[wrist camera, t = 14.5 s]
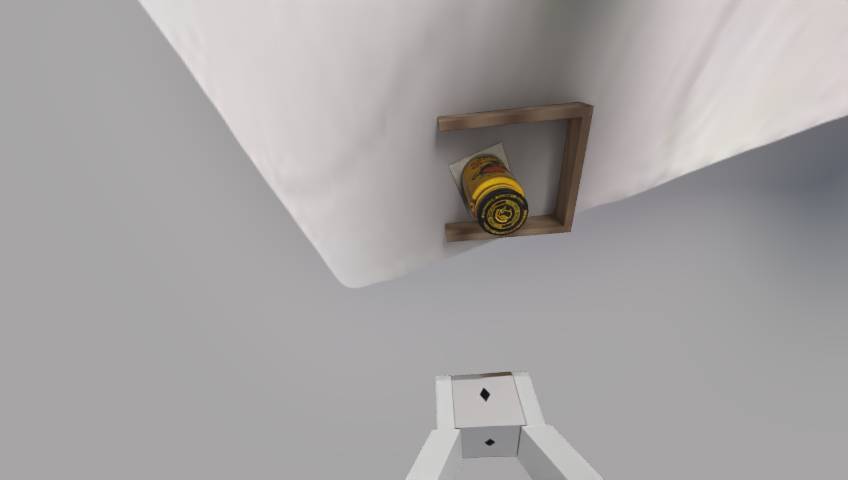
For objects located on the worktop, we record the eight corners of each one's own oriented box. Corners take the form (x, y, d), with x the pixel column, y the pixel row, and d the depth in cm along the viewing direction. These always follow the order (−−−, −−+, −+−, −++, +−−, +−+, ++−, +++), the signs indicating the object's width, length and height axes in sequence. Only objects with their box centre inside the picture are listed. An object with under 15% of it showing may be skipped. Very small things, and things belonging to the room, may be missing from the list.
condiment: (501, 141, 38) (528, 173, 28) (518, 197, 42) (548, 242, 32) (448, 164, 40) (456, 202, 30) (470, 216, 44) (483, 265, 34)
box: (445, 229, 45) (447, 241, 42) (437, 116, 37) (438, 122, 34) (560, 220, 44) (570, 231, 41) (579, 101, 36) (593, 106, 33)
